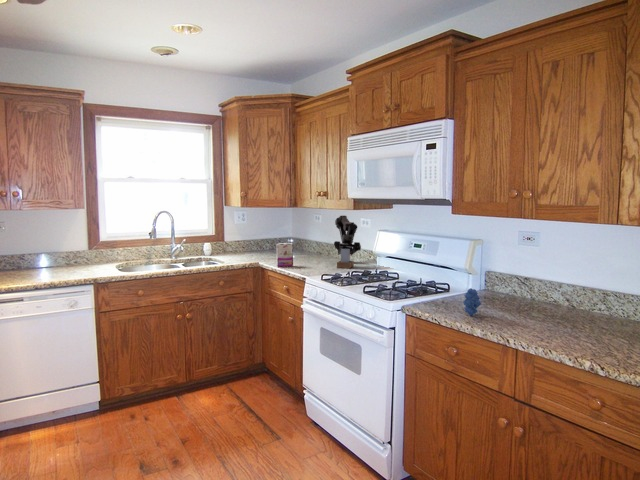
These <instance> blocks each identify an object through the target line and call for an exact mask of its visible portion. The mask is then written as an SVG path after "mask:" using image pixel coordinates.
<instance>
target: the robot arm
mask: <svg viewBox="0 0 640 480" xmlns="http://www.w3.org/2000/svg"><path fill="white" fill-rule="evenodd" d="M334 221H335V222H334V225H336V228H337V229H338V231H339V234H340V240H341V241H336V240H335V241H334V243H333V245H334V248H335V249H336V250H337V255H341V249H350V257H351V256H353V255H354V254H355V253H357V252H358V251H361V250H362V245H361V243H360V241H359V242H356V241H355V242H354V237H355V235H356V233H357V232H356V231H357V230H358V225H357V224H356V223H354V222H351V221H350V220H349V218H348V216H347V215H339V217H337V218H336V219H335V220H334Z"/></svg>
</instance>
